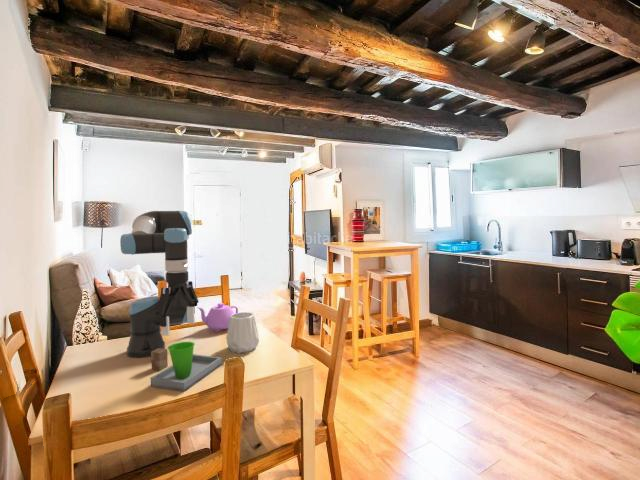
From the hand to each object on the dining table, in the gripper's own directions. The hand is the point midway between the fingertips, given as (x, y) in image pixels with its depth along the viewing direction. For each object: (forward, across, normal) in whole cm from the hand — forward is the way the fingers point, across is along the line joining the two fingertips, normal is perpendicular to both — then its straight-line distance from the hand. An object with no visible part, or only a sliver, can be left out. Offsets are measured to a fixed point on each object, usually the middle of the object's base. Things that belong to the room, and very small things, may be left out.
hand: (179, 329), depth 124 cm
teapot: (+19, +52, +17) cm, 58 cm away
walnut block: (+18, +4, +13) cm, 23 cm away
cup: (+17, -1, -2) cm, 17 cm away
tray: (+18, +2, -2) cm, 18 cm away
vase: (+18, +31, -8) cm, 37 cm away
